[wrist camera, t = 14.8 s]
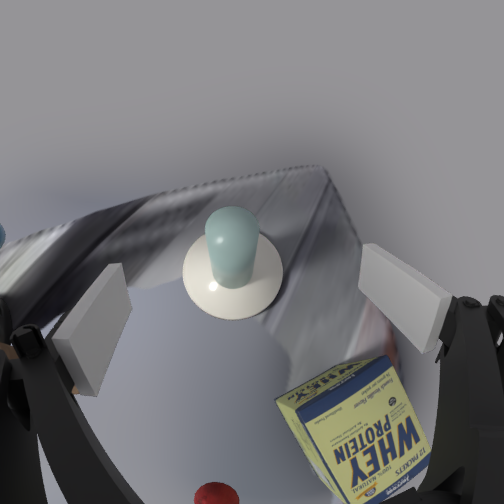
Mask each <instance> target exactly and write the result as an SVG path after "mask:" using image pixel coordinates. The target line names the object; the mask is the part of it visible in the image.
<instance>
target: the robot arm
mask: <svg viewBox="0 0 504 504" xmlns="http://www.w3.org/2000/svg"><path fill="white" fill-rule="evenodd" d="M5 235H6V234H5V231H4V228H3V227H2V225H1V224H0V248H1V247H2V245H3V244H4V241H5ZM358 288H359V289H360V290H361V291H362V292H363V293H364V294H365V295H366V296H367V297H368V298H369V299H370V300H371V301H372V302H373V303H374V304H375V305H376V306H377V307H378V308H379V309H380V310H381V311H382V312H383V313H384V314H385V315H386V316H387V318H388V319H389V320H390V321H392V323H393V324H394V325H395V326H396V327H397V328H399V330H400V331H401V332H402V333H403V334H404V335H405V336H406V337H407V338H408V339H409V340H410V341H411V343H412V344H413V345H414V346H415V347H416V348H417V349H418V350H419V351H420V352H421V353H422V354H424V353H427V352H430V351H432V350H434V349H435V346H436V344H437V341H438V338H439V339H440V340H441V341H442V342H443V344H442V346H441V349H440V351H439V354H438V356H437V358H436V361H435V363H437V362H438V360H439V359H440V385H439V399H438V409H437V419H436V426H435V433H434V439H433V445H432V450H431V455H430V460H429V465H428V469H427V473H426V476H425V478H424V480H423V481H422V483H421V484H420V486H419V488H418V490H417V491H416V489H415V488H414V487H412V488H410V489H408V490H406V491H404V492H402V493H400V494H398V495H396V496H394V497H392V498H390V499H387V500H385V501H383V502H380V503H379V504H504V297H503V296H500V295H499V296H497V295H493V296H491V298H490V301H489V304H488V306H482V305H481V303H480V302H479V301H477V300H476V299H474V298H471V297H465V296H463V297H460V298H458V299H457V298H456V297H454V296H453V295H452V294H450V293H449V292H448V291H446V290H445V289H443V288H442V287H440V286H439V285H437V284H436V283H434V282H433V281H432V280H430V279H429V278H427V277H426V276H424V275H423V274H421V273H420V272H418V271H417V270H415V269H414V268H412V267H411V266H409V265H408V264H406V263H405V262H403V261H402V260H400V259H399V258H397V257H395V256H394V255H392V254H391V253H389V252H388V251H386V250H384V249H383V248H381V247H379V246H378V245H376V244H375V243H371V244H363V250H362V260H361V268H360V276H359V284H358ZM131 310H132V306H131V302H130V298H129V294H128V290H127V285H126V281H125V276H124V272H123V267H122V263H115V264H108V266H107V267H106V268H105V269H104V270H103V271H102V273H101V274H100V275H99V276H98V278H97V279H96V280H95V281H94V282H93V284H92V285H91V286H90V287H89V289H88V290H87V291H86V292H85V294H84V295H83V296H82V297H81V299H80V300H79V301H78V303H77V304H76V305H75V307H74V308H73V309H70V310H68V311H67V312H65V313H64V314H63V315H62V316H61V317H60V319H59V320H58V323H56V324H55V325H54V328H52V330H51V331H50V332H49V334H48V335H47V336H46V338H45V339H44V338H43V336H42V334H41V331H40V329H39V327H38V326H37V325H35V324H26V325H23V326H21V327H19V328H17V329H16V330H15V331H14V332H13V333H12V323H11V317H10V313H9V310H8V307H7V305H6V304H5V302H4V301H3V300H2V299H1V298H0V342H1V343H4V344H7V345H10V346H11V343H12V345H13V347H14V349H15V351H16V353H17V355H18V357H19V358H17V359H10V360H9V359H8V357H7V355H6V353H5V352H4V350H1V349H0V504H48V502H47V498H46V494H45V489H44V484H43V479H42V472H41V467H40V458H39V451H38V440H37V434H38V437H39V440H40V442H41V445H42V448H43V451H44V453H45V456H46V458H47V461H48V463H49V465H50V468H51V470H52V472H53V475H54V477H55V479H56V481H57V483H58V485H59V487H60V489H61V491H62V493H63V495H64V497H65V499H66V501H67V503H68V504H144V503H143V501H142V500H141V499H140V498H139V497H138V495H137V494H136V493H135V492H134V491H133V489H132V488H131V487H130V485H129V484H128V483H127V482H126V480H125V479H124V478H123V476H122V475H121V473H120V472H119V471H118V469H117V468H116V466H115V465H114V464H113V462H112V461H111V459H110V458H109V456H108V455H107V453H106V452H105V450H104V449H103V447H102V445H101V444H100V442H99V441H98V439H97V437H96V436H95V434H94V432H93V430H92V429H91V427H90V425H89V424H88V422H87V420H86V418H85V416H84V414H83V412H82V411H81V408H80V407H79V405H78V403H77V401H76V399H75V397H74V395H73V393H72V389H73V387H74V385H75V386H76V388H77V390H78V391H79V393H80V395H84V396H93V397H97V396H98V393H99V390H100V387H101V384H102V382H103V379H104V376H105V374H106V371H107V368H108V365H109V363H110V360H111V358H112V355H113V353H114V350H115V348H116V345H117V343H118V341H119V338H120V336H121V334H122V331H123V329H124V326H125V324H126V322H127V320H128V317H129V315H130V313H131ZM501 332H502V333H503V340H502V342H501V344H500V346H499V345H498V344H497V341H498V339H499V337H500V334H501Z"/></svg>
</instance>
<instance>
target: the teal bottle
mask: <svg viewBox="0 0 504 504" xmlns="http://www.w3.org/2000/svg"><path fill="white" fill-rule="evenodd" d="M259 232H260V228H259V223H258V221H257V219H256V217H255V216H254V215H253V214H252V213H251V212H250V211H248V210H247V209H244V208H242V207H238V206H227V207H223V208H220V209H218V210H216V211H215V212H213V213H212V214H211V215H210V217H209V218H208V220H207V222H206V225H205V235H206V241H207V246H208V251H209V257H210V262H211V267H212V272H213V276H214V279H215V280H216V282H217V283H218V284H219V285H221V286H222V287H225V288H228V289H237V288H241V287H243V286H244V285H246V284H247V283H248V282H249V281H250V279H251V277H252V274H253V268H254V262H255V256H256V250H257V244H258V238H259Z"/></svg>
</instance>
